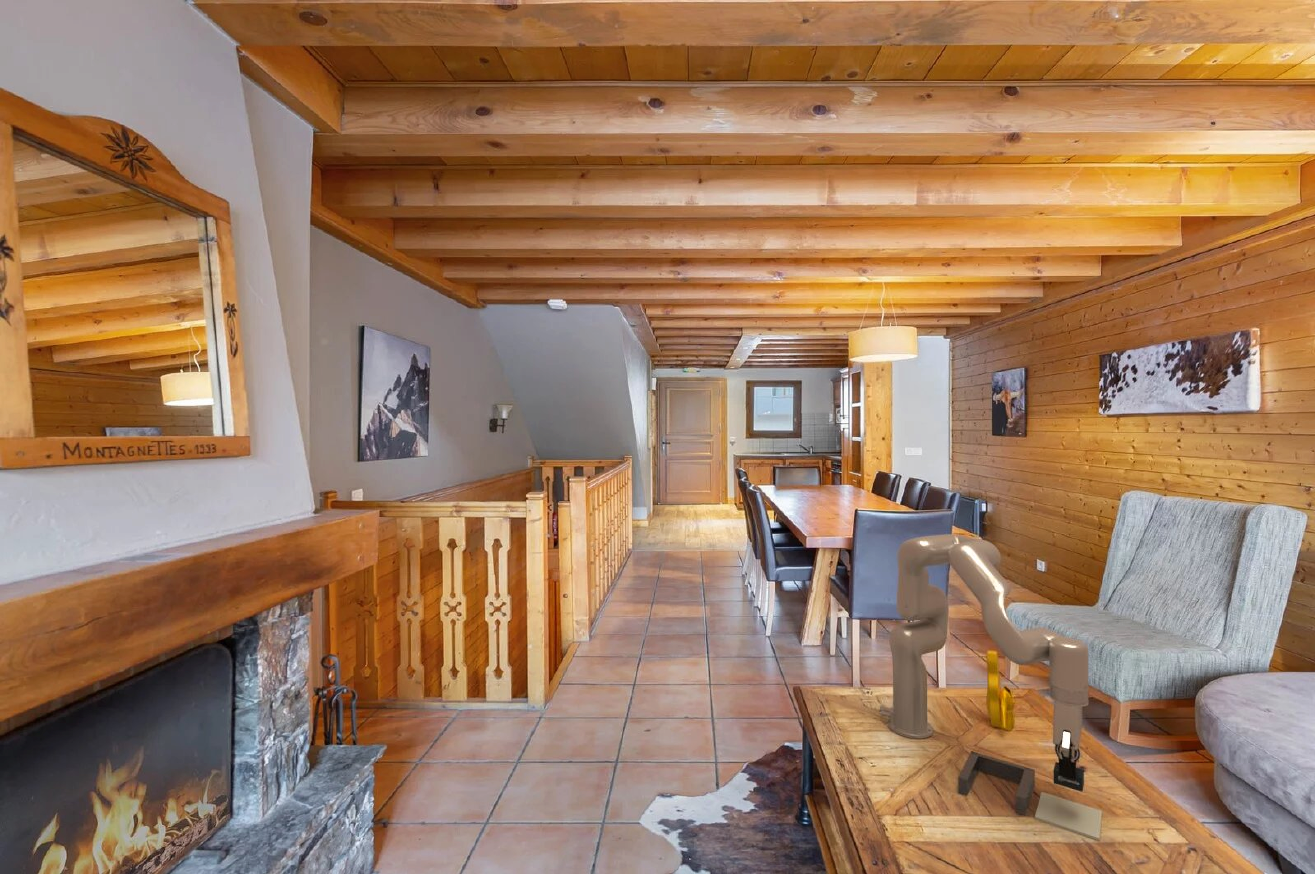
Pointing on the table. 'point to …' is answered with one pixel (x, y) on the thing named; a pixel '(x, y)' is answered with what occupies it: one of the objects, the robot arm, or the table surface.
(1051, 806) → the sage mat
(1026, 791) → the u-shaped metal bracket
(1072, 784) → the watch
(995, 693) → the figure statuette
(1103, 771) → the table surface
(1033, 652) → the robot arm
